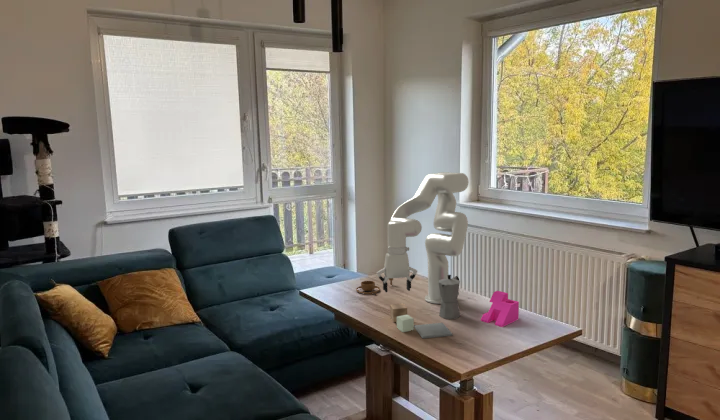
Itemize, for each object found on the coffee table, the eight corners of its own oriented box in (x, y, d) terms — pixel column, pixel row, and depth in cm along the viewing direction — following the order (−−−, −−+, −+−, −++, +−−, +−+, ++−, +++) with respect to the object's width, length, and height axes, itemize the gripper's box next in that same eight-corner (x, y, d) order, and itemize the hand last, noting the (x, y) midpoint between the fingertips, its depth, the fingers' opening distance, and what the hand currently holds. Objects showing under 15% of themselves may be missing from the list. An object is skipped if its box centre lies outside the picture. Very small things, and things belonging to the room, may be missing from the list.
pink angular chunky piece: (497, 313, 224) (497, 290, 223) (518, 319, 217) (518, 295, 215) (480, 321, 217) (480, 297, 215) (502, 327, 209) (502, 302, 207)
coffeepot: (452, 322, 216) (452, 280, 213) (432, 318, 222) (431, 277, 219) (468, 311, 228) (468, 271, 226) (448, 307, 234) (448, 268, 231)
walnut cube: (403, 316, 225) (403, 303, 224) (407, 321, 219) (407, 307, 218) (390, 317, 224) (389, 304, 223) (393, 322, 218) (393, 309, 217)
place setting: (355, 287, 270) (354, 276, 269) (393, 285, 272) (393, 274, 271) (357, 298, 253) (357, 286, 252) (398, 295, 254) (398, 284, 254)
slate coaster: (442, 324, 214) (442, 322, 214) (452, 335, 202) (452, 333, 202) (414, 327, 212) (414, 325, 212) (422, 338, 200) (422, 336, 200)
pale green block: (407, 326, 214) (407, 314, 213) (413, 330, 209) (413, 318, 209) (396, 328, 212) (396, 316, 211) (402, 332, 207) (402, 320, 206)
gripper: (414, 247, 222) (414, 287, 224) (374, 249, 219) (375, 289, 221) (419, 251, 214) (419, 291, 216) (378, 253, 211) (378, 294, 214)
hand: (397, 290), depth 219 cm, fingers open, 9 cm apart
